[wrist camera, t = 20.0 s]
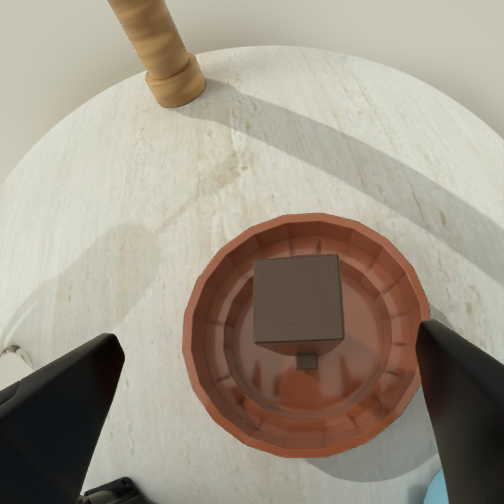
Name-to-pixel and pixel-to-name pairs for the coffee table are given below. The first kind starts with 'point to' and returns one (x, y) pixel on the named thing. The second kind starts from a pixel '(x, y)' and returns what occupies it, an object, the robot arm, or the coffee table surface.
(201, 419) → the coffee table surface
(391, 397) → the bowl
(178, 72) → the pepper mill
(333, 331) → the brown long block
